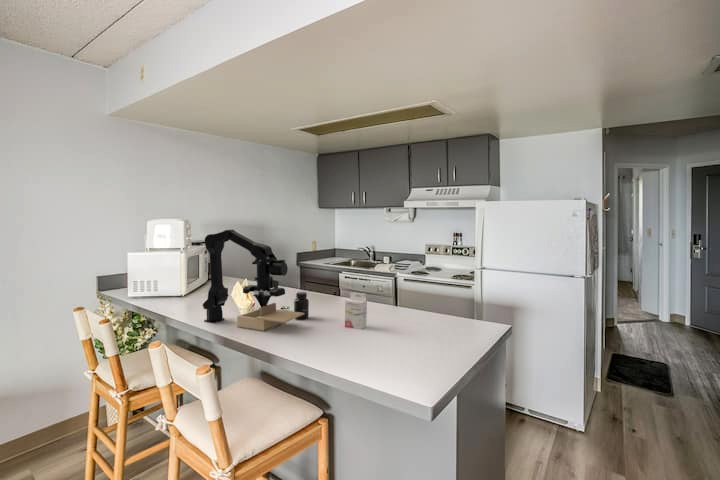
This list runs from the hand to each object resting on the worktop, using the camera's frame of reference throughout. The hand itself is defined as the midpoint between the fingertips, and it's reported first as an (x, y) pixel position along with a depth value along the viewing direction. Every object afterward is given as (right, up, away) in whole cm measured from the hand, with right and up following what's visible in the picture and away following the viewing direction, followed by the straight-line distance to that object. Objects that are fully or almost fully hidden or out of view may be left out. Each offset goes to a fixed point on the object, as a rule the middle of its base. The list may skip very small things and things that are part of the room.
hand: (264, 310), depth 163 cm
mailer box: (-2, -7, +1) cm, 7 cm away
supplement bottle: (+14, -6, +13) cm, 20 cm away
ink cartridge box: (+40, -7, -1) cm, 41 cm away
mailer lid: (+8, -2, -3) cm, 9 cm away
